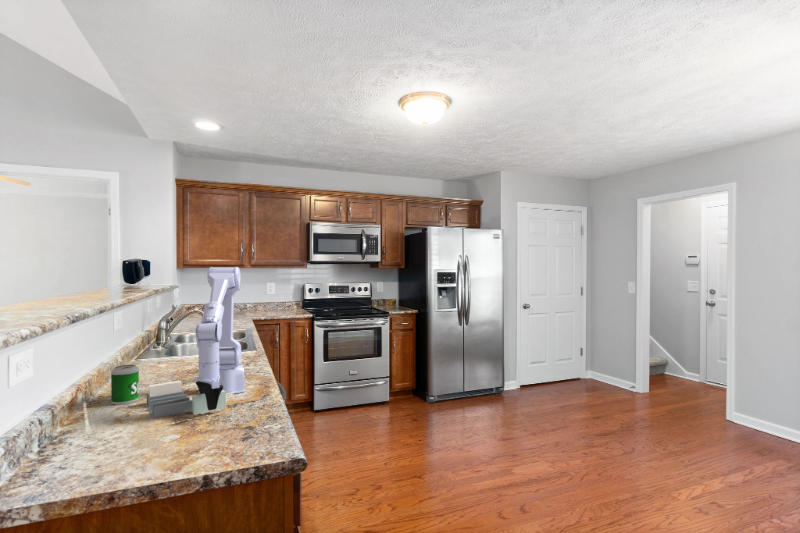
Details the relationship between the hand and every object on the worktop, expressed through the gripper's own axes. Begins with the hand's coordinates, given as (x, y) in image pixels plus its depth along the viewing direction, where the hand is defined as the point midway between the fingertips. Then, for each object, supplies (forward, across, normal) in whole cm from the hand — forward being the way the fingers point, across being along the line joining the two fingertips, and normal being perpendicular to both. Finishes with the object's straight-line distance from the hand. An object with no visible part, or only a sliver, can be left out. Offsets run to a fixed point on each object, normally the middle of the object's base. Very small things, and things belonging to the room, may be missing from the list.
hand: (209, 406), depth 128 cm
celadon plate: (+2, 0, 0) cm, 2 cm away
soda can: (+2, -26, -19) cm, 32 cm away
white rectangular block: (+1, -17, -9) cm, 19 cm away
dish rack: (+2, -11, -9) cm, 14 cm away
